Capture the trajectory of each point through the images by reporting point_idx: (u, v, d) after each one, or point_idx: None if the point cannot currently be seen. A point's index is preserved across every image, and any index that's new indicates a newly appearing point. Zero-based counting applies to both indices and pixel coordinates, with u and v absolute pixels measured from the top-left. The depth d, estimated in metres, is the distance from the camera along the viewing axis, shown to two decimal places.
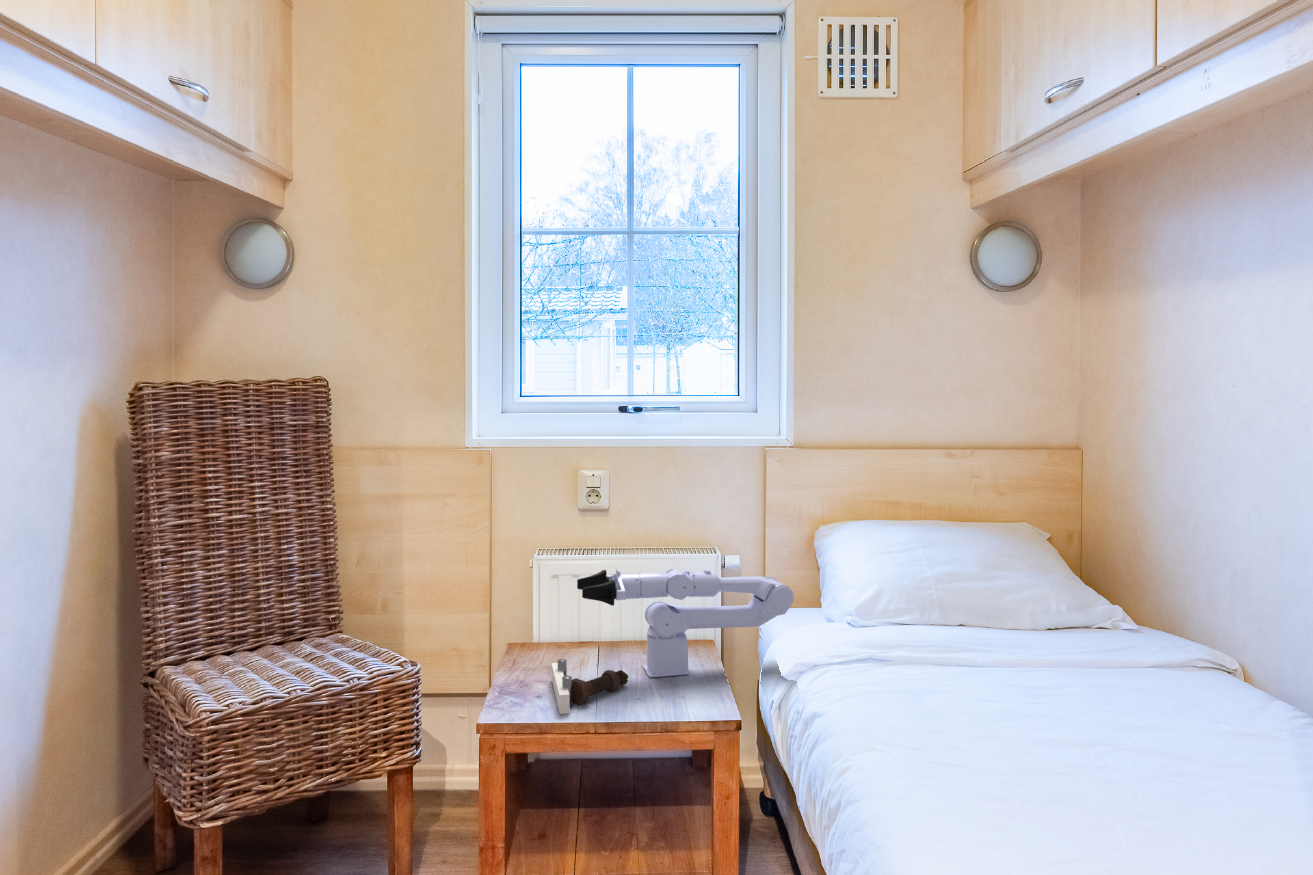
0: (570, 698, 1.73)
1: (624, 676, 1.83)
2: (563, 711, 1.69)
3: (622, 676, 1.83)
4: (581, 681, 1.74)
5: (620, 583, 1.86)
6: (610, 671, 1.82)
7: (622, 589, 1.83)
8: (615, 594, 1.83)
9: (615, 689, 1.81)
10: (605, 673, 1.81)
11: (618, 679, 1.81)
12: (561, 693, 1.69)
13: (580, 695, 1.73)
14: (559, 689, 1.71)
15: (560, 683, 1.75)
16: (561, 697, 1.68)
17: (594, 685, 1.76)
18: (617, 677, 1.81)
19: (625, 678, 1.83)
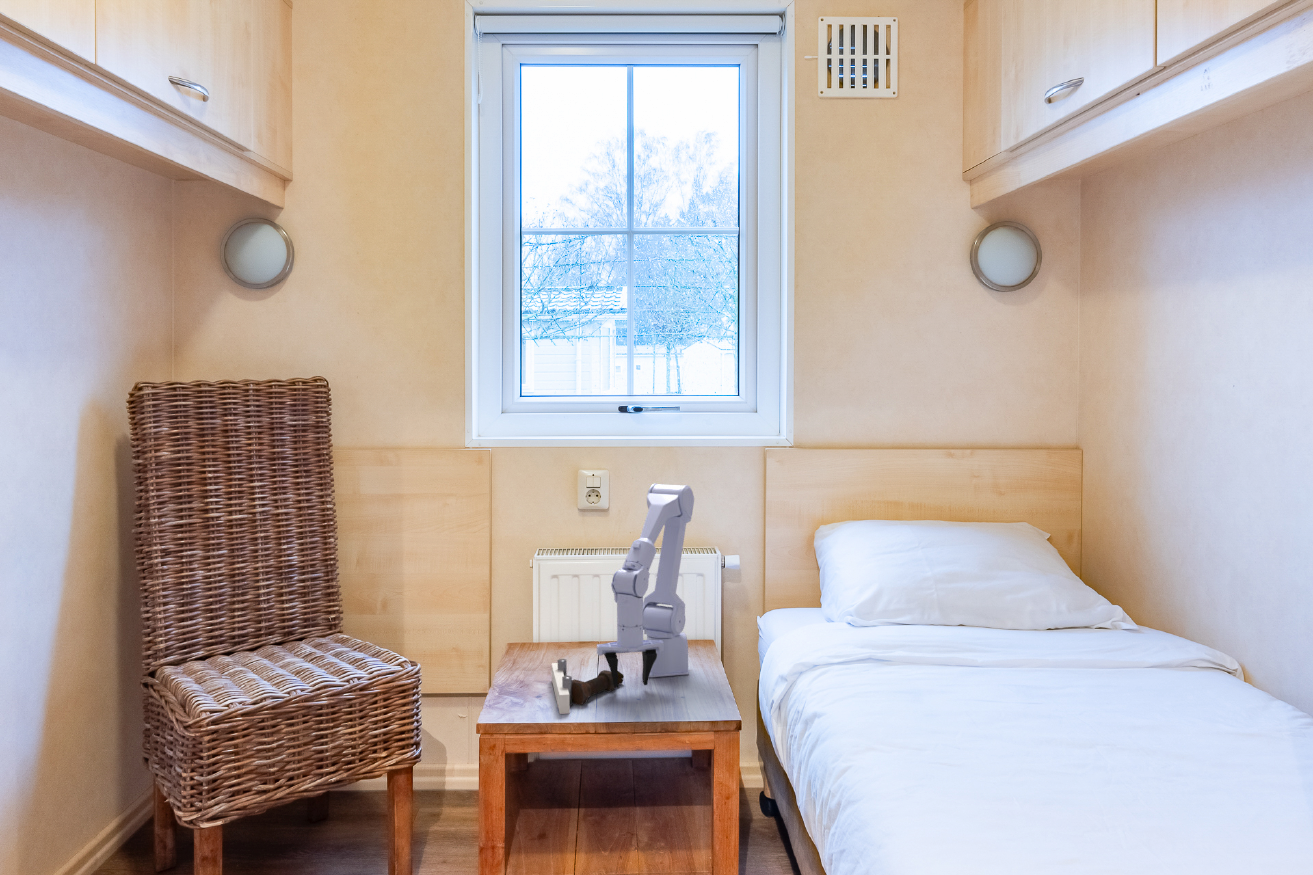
0: (570, 698, 1.73)
1: (620, 676, 1.84)
2: (563, 711, 1.69)
3: (618, 676, 1.84)
4: (580, 682, 1.74)
5: (649, 647, 1.79)
6: (606, 671, 1.83)
7: (659, 645, 1.80)
8: None
9: (612, 689, 1.81)
10: (601, 673, 1.82)
11: None
12: (561, 693, 1.69)
13: (579, 696, 1.73)
14: (559, 689, 1.71)
15: (560, 683, 1.75)
16: (561, 697, 1.68)
17: (593, 685, 1.77)
18: None
19: (621, 678, 1.84)
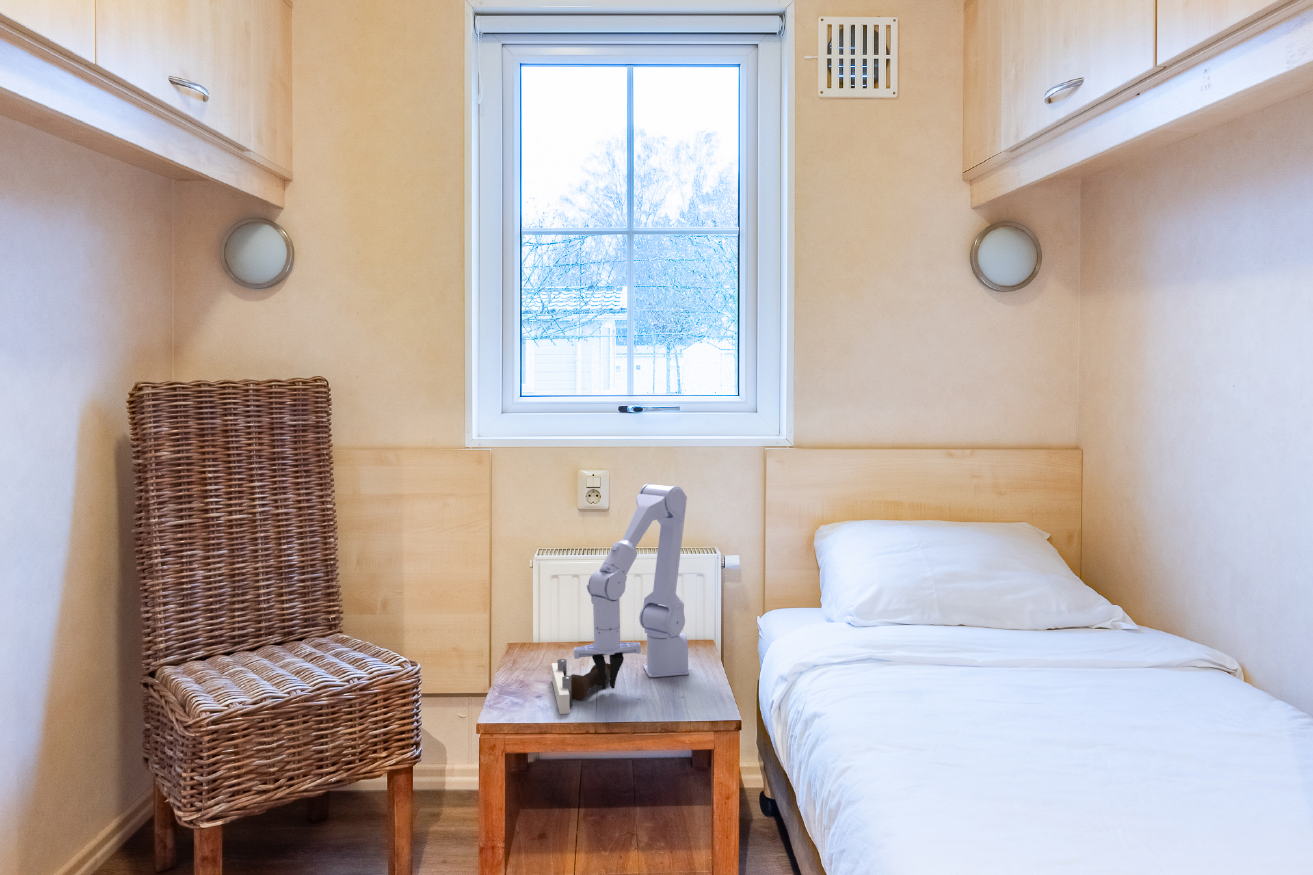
0: (570, 698, 1.73)
1: None
2: (563, 711, 1.69)
3: None
4: (580, 676, 1.76)
5: (626, 649, 1.78)
6: None
7: (636, 647, 1.79)
8: None
9: (606, 682, 1.85)
10: (595, 667, 1.85)
11: (608, 672, 1.85)
12: (561, 693, 1.69)
13: (580, 690, 1.75)
14: (559, 689, 1.71)
15: (560, 683, 1.75)
16: (561, 697, 1.68)
17: (591, 679, 1.79)
18: (607, 670, 1.85)
19: None
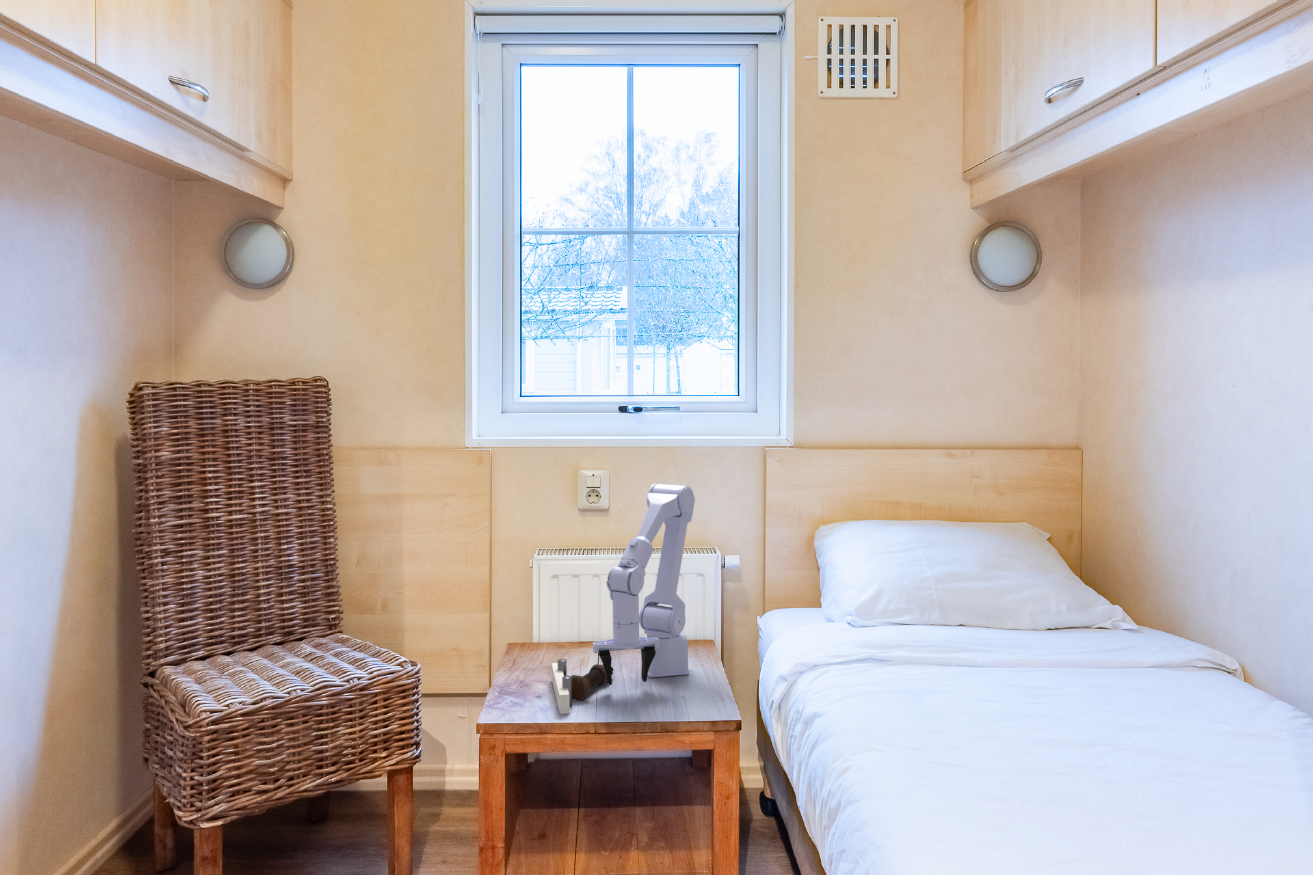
0: (570, 698, 1.73)
1: None
2: (563, 711, 1.69)
3: None
4: (581, 677, 1.76)
5: (645, 644, 1.79)
6: (598, 665, 1.86)
7: (655, 642, 1.80)
8: None
9: (605, 682, 1.85)
10: (594, 667, 1.85)
11: None
12: (561, 693, 1.69)
13: (581, 691, 1.75)
14: (559, 689, 1.71)
15: (560, 683, 1.75)
16: (561, 697, 1.68)
17: (590, 680, 1.79)
18: None
19: (611, 671, 1.88)
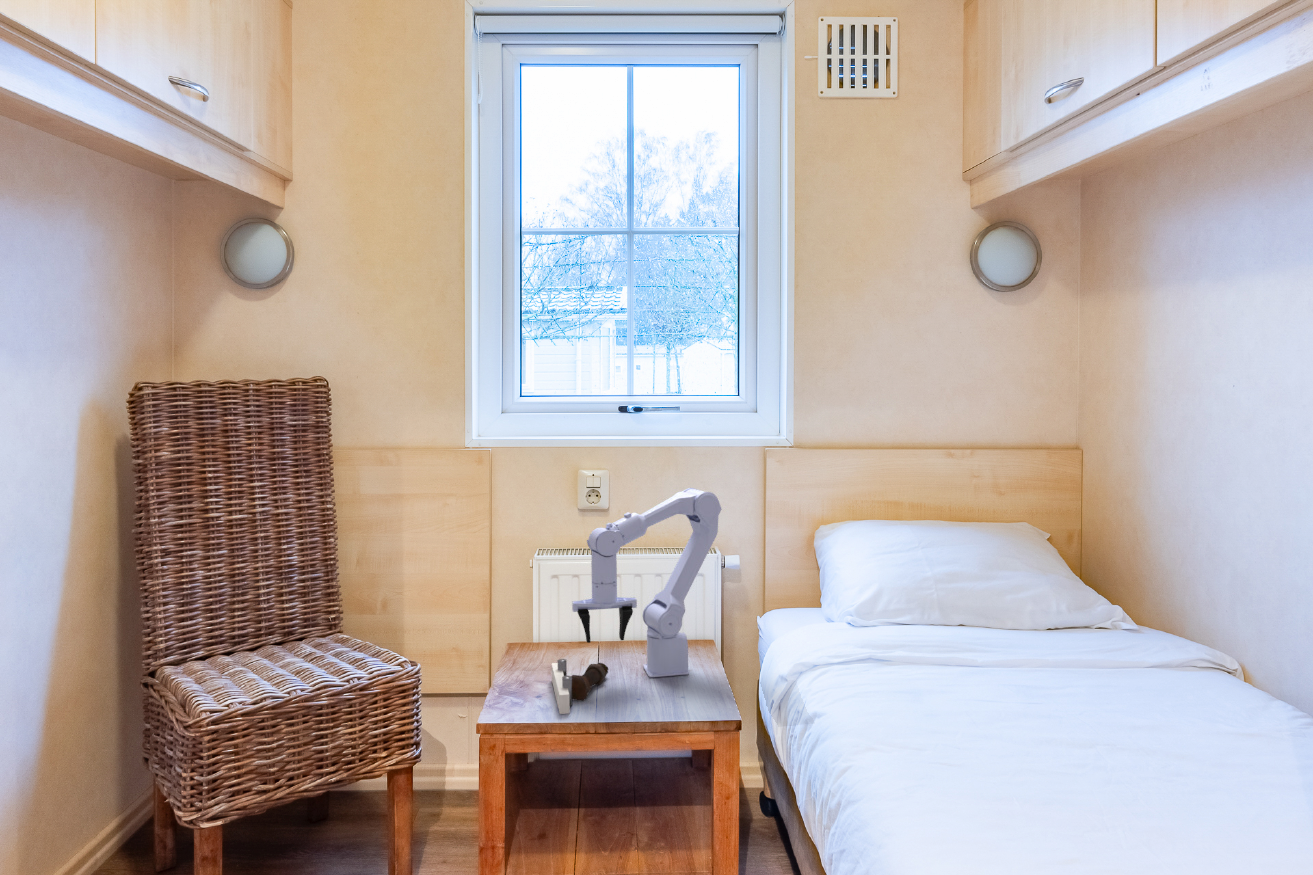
0: (570, 698, 1.73)
1: (605, 668, 1.88)
2: (563, 711, 1.69)
3: (604, 668, 1.88)
4: (581, 676, 1.76)
5: (622, 603, 1.85)
6: (594, 664, 1.86)
7: (632, 602, 1.87)
8: None
9: (602, 681, 1.85)
10: (590, 667, 1.85)
11: (604, 671, 1.86)
12: (561, 693, 1.69)
13: (582, 690, 1.75)
14: (559, 689, 1.71)
15: (560, 683, 1.75)
16: (561, 697, 1.68)
17: (590, 679, 1.80)
18: (602, 669, 1.86)
19: (606, 669, 1.89)
